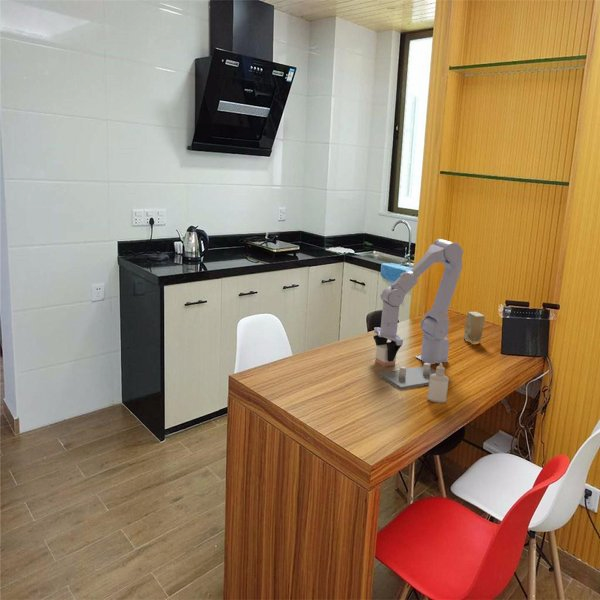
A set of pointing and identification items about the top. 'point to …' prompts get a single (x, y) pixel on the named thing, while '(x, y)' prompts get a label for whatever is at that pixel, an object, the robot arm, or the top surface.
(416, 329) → the top surface
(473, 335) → the skincare box
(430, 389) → the eye dropper bottle
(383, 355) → the sleeve
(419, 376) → the pin board
